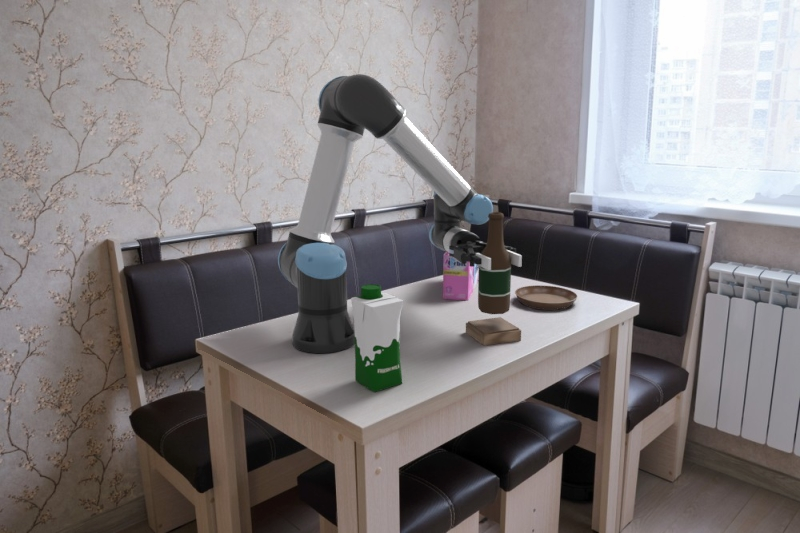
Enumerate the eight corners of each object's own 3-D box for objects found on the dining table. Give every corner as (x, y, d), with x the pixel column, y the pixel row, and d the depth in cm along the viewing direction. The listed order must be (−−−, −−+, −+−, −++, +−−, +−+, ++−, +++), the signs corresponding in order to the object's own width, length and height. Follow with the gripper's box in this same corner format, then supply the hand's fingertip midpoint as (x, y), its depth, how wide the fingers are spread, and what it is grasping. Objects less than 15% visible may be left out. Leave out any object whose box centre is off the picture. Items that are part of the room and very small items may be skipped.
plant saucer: (588, 302, 185) (589, 292, 184) (556, 316, 172) (556, 306, 172) (536, 291, 197) (536, 281, 196) (502, 303, 184) (502, 293, 184)
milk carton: (383, 370, 137) (382, 280, 132) (408, 384, 130) (408, 290, 125) (349, 380, 132) (346, 287, 127) (373, 395, 125) (371, 298, 120)
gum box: (455, 279, 211) (456, 239, 208) (479, 280, 209) (480, 240, 206) (442, 299, 189) (442, 254, 185) (468, 300, 187) (469, 256, 184)
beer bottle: (511, 306, 158) (514, 210, 152) (507, 315, 151) (511, 216, 145) (480, 304, 160) (482, 209, 154) (475, 313, 153) (477, 214, 147)
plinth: (484, 345, 151) (484, 333, 150) (465, 332, 160) (465, 321, 159) (520, 340, 154) (521, 328, 153) (500, 327, 163) (501, 316, 162)
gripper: (496, 254, 173) (542, 274, 152) (427, 261, 166) (465, 282, 145) (496, 227, 171) (543, 243, 150) (427, 233, 164) (465, 250, 143)
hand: (505, 262), depth 148 cm, fingers closed on beer bottle, 7 cm apart
